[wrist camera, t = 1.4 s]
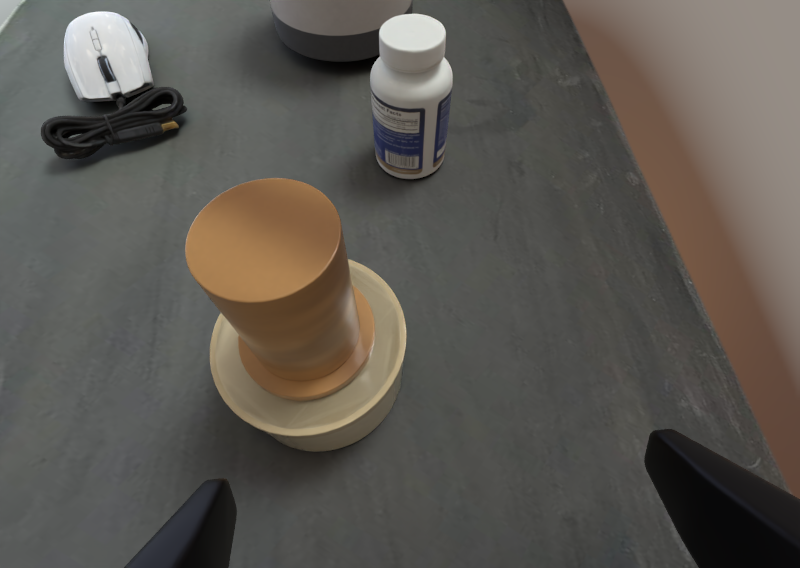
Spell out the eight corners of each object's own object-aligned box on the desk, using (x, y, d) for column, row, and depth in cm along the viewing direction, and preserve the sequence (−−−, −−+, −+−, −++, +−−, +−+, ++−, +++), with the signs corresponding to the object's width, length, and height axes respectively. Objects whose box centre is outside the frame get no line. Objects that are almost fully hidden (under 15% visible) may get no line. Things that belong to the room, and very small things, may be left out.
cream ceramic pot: (363, 486, 22) (354, 472, 18) (209, 413, 24) (167, 386, 20) (429, 330, 27) (434, 289, 22) (294, 279, 28) (275, 232, 24)
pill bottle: (420, 124, 36) (425, -3, 28) (457, 164, 34) (476, 39, 25) (362, 148, 35) (350, 22, 26) (397, 191, 32) (396, 69, 24)
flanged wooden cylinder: (338, 423, 19) (302, 356, 12) (214, 369, 20) (117, 279, 13) (396, 303, 22) (393, 194, 15) (285, 262, 23) (235, 143, 16)
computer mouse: (156, 22, 44) (135, -22, 40) (198, 133, 35) (176, 90, 32) (49, 48, 42) (18, 3, 38) (67, 173, 33) (29, 131, 30)
